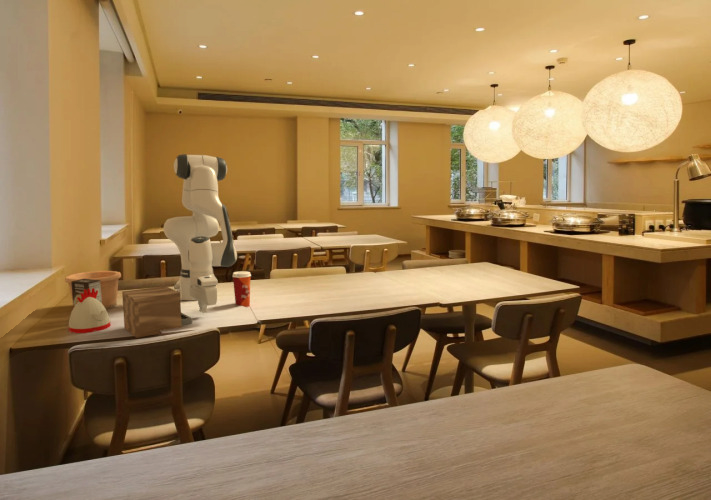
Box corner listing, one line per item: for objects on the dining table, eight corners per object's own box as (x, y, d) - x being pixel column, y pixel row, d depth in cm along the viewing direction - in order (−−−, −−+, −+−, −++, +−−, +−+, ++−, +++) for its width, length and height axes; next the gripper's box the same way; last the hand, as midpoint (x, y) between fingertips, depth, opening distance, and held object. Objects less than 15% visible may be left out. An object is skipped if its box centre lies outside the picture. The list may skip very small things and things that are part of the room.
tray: (141, 325, 188) (140, 318, 188) (180, 319, 197) (180, 311, 197) (150, 333, 179) (150, 325, 178) (191, 325, 188) (191, 317, 188)
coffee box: (73, 320, 197) (69, 281, 195) (86, 316, 203) (83, 278, 201) (90, 322, 194) (87, 282, 192) (104, 318, 200) (101, 279, 198)
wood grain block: (124, 327, 186) (122, 291, 184) (167, 320, 196) (165, 285, 194) (136, 337, 174) (134, 299, 172) (181, 329, 184) (179, 292, 182)
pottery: (73, 303, 226) (71, 272, 224) (126, 299, 233) (124, 269, 231) (61, 314, 206) (58, 281, 204) (119, 310, 213) (117, 277, 211)
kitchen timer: (118, 325, 190) (115, 287, 188) (86, 335, 178) (83, 294, 176) (93, 321, 196) (90, 284, 194) (60, 330, 184) (57, 291, 182)
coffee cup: (247, 308, 215) (246, 274, 213) (230, 307, 216) (228, 274, 214) (255, 304, 223) (254, 271, 221) (238, 303, 224) (237, 270, 222)
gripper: (184, 275, 201) (186, 307, 203) (203, 283, 185) (205, 318, 187) (199, 273, 205) (201, 305, 207) (219, 281, 189) (220, 316, 191)
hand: (203, 311), depth 197 cm, fingers closed
